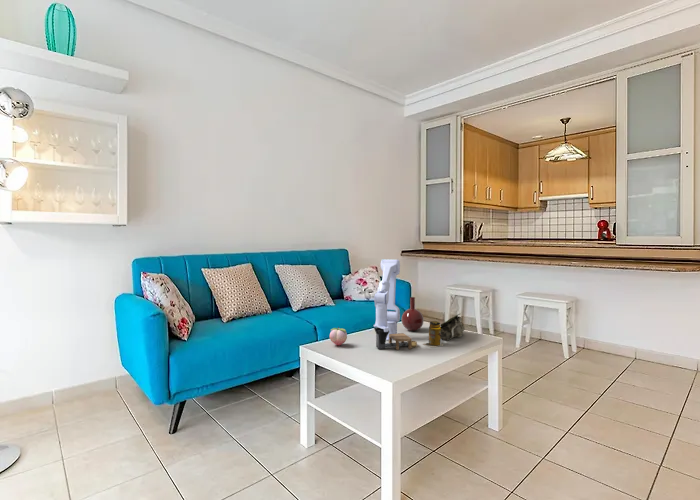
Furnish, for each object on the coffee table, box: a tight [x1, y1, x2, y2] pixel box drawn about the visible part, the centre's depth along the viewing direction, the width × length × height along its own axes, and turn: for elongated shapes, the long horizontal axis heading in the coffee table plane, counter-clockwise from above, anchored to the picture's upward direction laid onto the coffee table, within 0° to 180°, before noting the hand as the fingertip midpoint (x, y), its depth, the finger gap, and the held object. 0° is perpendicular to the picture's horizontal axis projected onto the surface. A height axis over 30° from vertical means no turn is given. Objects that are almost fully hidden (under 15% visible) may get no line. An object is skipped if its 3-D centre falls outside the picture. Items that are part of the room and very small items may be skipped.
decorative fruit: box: [329, 326, 348, 346], centre depth 200 cm, size 9×8×10 cm
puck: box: [406, 340, 418, 348], centre depth 199 cm, size 5×5×2 cm
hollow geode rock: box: [440, 313, 466, 342], centre depth 215 cm, size 28×13×15 cm
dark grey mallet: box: [375, 332, 408, 350], centre depth 196 cm, size 4×16×7 cm, turn 105°
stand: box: [388, 332, 413, 351], centre depth 198 cm, size 11×8×5 cm
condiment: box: [423, 320, 444, 349], centre depth 201 cm, size 7×8×12 cm
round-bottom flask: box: [401, 296, 425, 332], centre depth 231 cm, size 13×13×20 cm
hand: (381, 342), depth 195 cm, fingers closed on dark grey mallet, 4 cm apart
